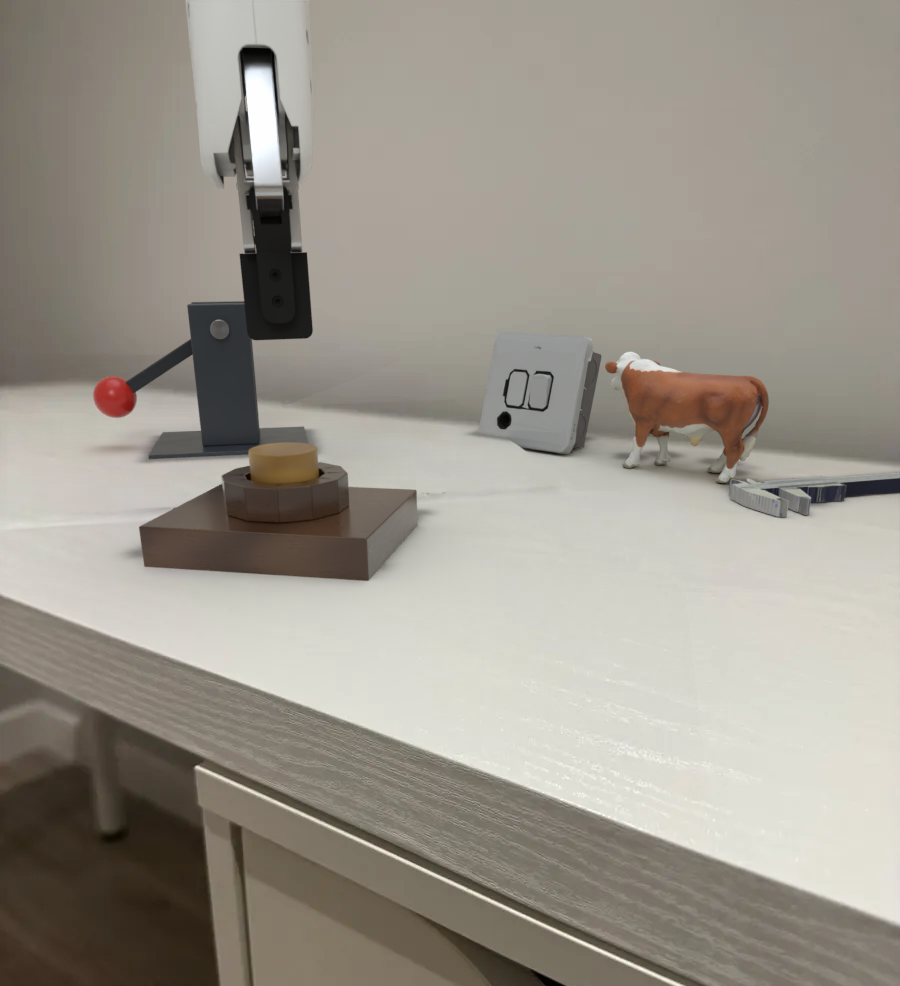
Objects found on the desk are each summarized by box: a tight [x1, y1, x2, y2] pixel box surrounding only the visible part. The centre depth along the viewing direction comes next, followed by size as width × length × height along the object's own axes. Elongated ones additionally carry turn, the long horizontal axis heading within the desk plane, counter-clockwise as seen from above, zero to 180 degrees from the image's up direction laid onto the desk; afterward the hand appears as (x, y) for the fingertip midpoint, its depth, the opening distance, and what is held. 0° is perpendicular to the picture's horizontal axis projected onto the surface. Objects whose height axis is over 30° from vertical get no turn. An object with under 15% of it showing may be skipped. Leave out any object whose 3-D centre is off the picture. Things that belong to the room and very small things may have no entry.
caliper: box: [728, 472, 900, 518], centre depth 59 cm, size 20×1×6 cm
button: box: [248, 442, 319, 483], centre depth 47 cm, size 4×4×2 cm
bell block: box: [138, 461, 418, 582], centre depth 48 cm, size 12×10×4 cm
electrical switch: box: [477, 331, 602, 455], centre depth 73 cm, size 9×5×9 cm, turn 49°
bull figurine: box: [604, 351, 770, 484], centre depth 64 cm, size 4×13×8 cm, turn 41°
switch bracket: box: [148, 300, 309, 460], centre depth 70 cm, size 12×10×12 cm
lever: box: [92, 338, 193, 419], centre depth 69 cm, size 13×3×3 cm, turn 102°
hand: (280, 337), depth 44 cm, fingers closed
